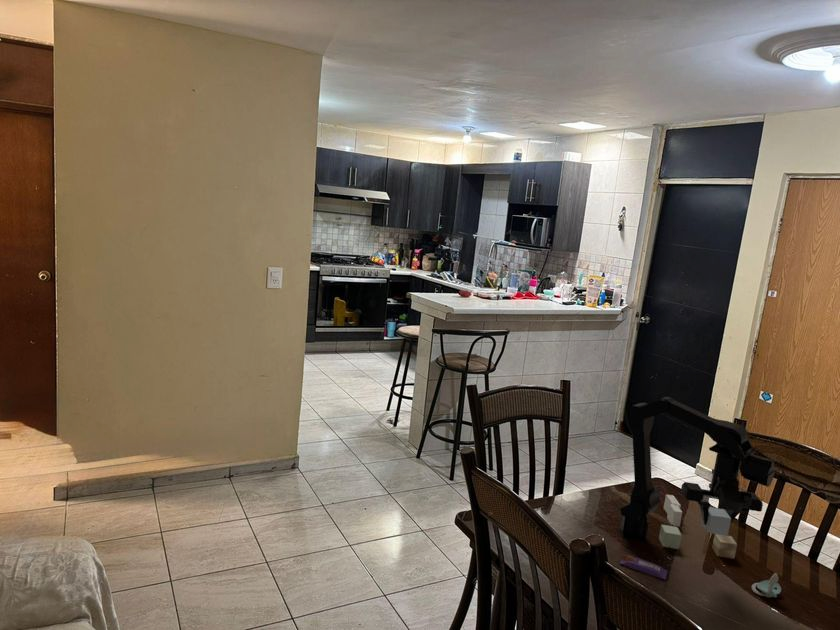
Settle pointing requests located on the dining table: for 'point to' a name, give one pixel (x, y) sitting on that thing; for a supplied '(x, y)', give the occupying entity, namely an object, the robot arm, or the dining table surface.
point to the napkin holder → (673, 510)
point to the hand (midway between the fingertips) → (715, 525)
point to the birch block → (724, 546)
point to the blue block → (717, 522)
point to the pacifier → (768, 587)
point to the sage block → (670, 536)
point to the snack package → (644, 566)
